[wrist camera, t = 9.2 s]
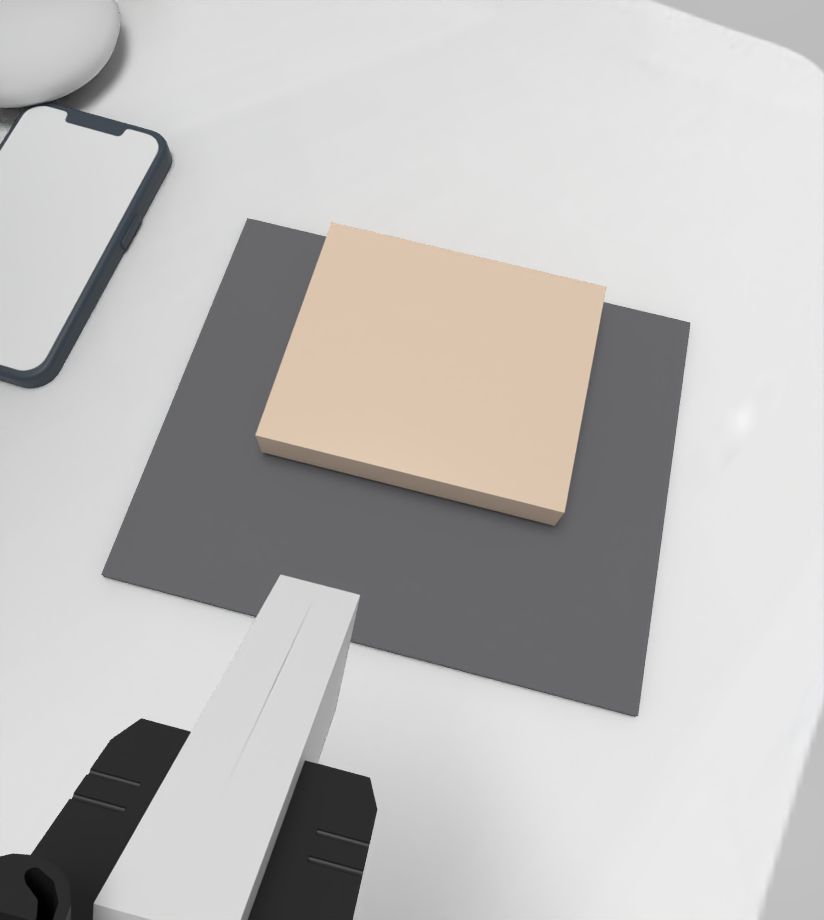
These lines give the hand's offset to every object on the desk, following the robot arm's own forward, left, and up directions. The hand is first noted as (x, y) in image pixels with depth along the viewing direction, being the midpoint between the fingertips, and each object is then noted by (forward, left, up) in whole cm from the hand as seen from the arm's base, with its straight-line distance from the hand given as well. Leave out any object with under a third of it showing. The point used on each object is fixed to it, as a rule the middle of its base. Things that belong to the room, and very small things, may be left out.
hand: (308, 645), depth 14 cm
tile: (-9, +5, -18) cm, 20 cm away
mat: (-11, +6, -20) cm, 23 cm away
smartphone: (-27, -10, -20) cm, 35 cm away
